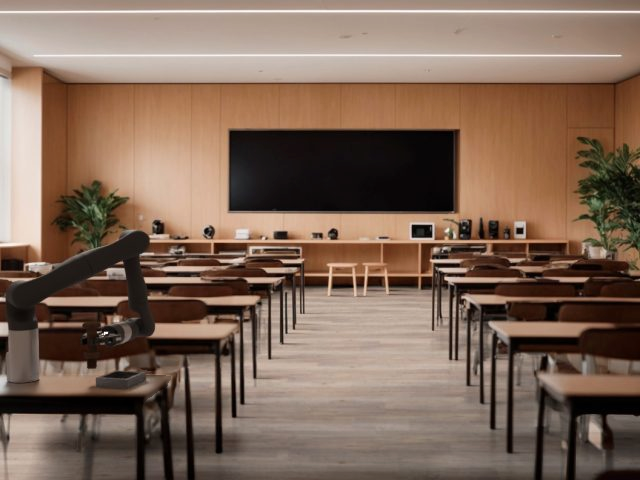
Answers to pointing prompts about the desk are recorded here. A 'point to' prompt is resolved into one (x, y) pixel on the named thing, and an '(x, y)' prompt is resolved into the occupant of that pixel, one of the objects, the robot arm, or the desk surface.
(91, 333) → the bolt
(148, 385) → the desk surface
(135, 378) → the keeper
